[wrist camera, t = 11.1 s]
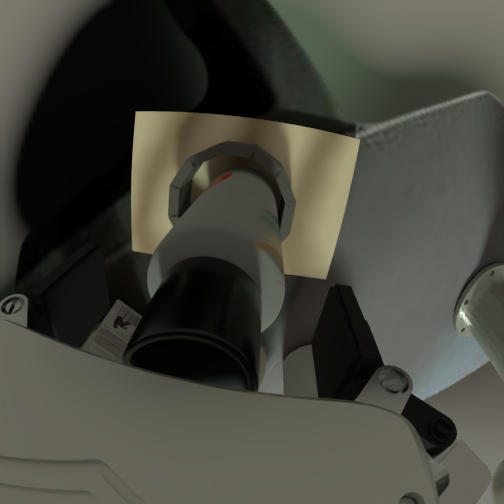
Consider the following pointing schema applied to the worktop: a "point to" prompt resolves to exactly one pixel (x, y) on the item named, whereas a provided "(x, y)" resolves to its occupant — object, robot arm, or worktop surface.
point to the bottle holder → (243, 155)
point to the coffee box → (113, 332)
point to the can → (300, 373)
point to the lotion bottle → (214, 286)
